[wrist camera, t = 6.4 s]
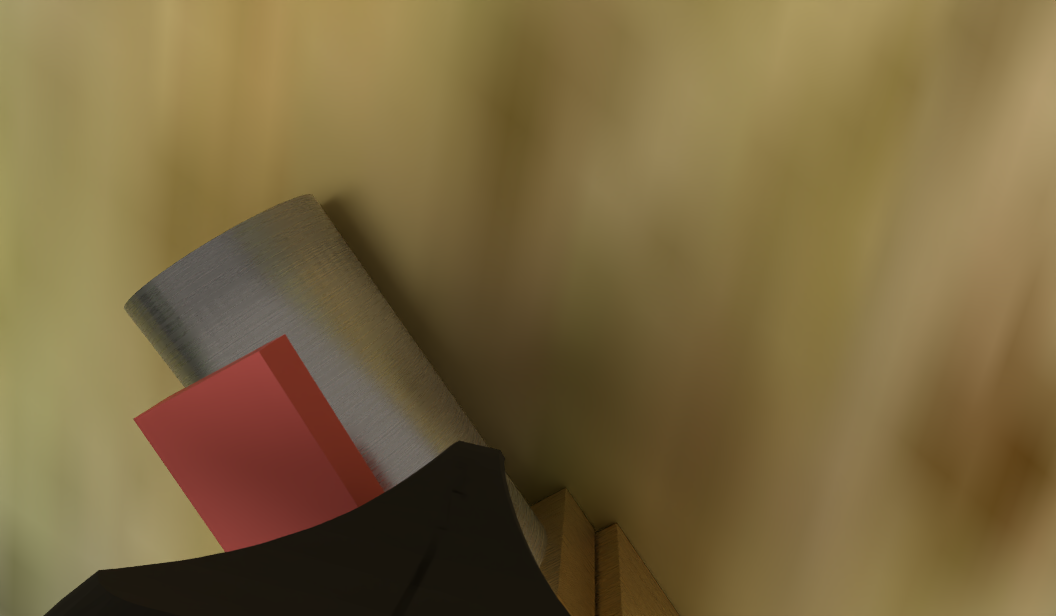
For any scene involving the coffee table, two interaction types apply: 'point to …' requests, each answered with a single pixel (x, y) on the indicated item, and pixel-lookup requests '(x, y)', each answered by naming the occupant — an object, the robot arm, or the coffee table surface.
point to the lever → (259, 449)
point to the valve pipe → (364, 379)
